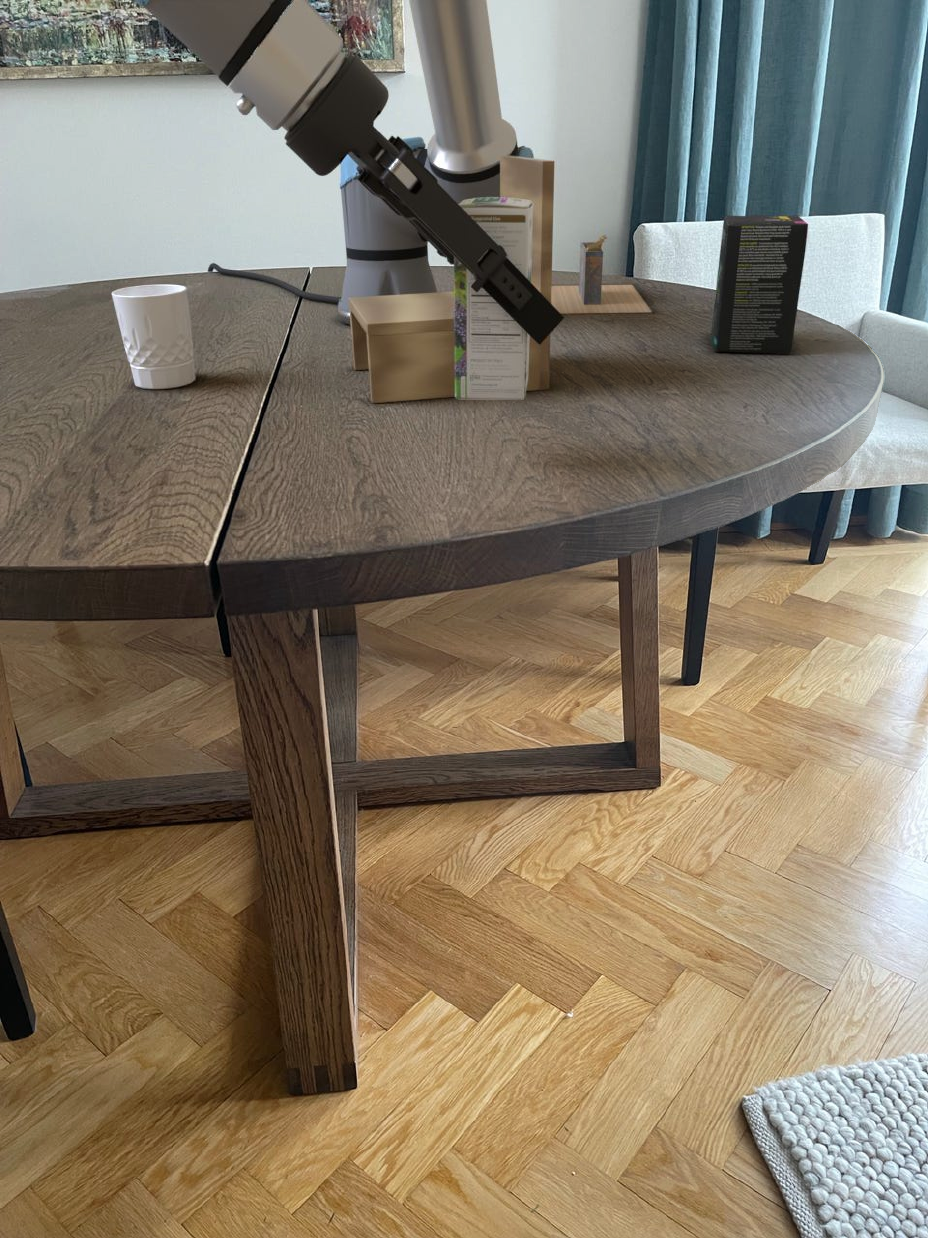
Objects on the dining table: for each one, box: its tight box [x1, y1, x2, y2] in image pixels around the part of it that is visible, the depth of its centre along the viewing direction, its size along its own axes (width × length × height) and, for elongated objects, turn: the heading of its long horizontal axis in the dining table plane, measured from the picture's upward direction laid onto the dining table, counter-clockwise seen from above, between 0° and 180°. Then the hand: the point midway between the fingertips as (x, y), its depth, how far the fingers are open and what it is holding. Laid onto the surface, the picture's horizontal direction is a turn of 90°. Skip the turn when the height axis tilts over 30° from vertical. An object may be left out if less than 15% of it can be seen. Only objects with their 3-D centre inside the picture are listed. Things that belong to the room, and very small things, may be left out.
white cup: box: [111, 284, 196, 390], centre depth 103 cm, size 8×8×10 cm
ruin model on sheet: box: [551, 234, 653, 315], centre depth 145 cm, size 25×16×10 cm, turn 178°
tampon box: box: [710, 214, 809, 355], centre depth 113 cm, size 11×9×15 cm
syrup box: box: [453, 197, 533, 401], centre depth 73 cm, size 6×6×14 cm
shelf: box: [349, 156, 555, 404], centre depth 99 cm, size 19×16×22 cm
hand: (535, 320), depth 75 cm, fingers closed on syrup box, 7 cm apart
